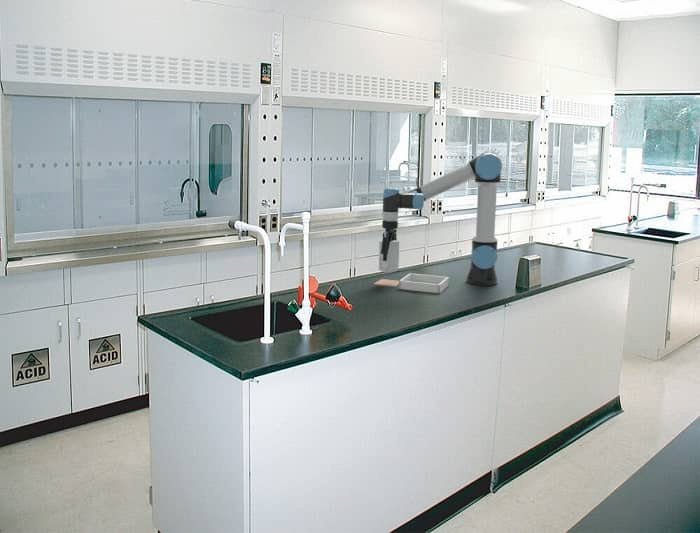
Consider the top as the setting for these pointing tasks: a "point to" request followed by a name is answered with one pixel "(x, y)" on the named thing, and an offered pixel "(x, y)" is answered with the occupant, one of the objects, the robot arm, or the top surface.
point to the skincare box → (390, 257)
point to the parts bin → (424, 283)
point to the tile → (387, 283)
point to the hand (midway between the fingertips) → (388, 265)
